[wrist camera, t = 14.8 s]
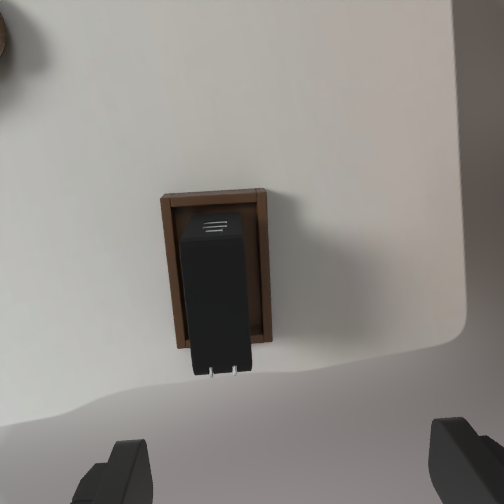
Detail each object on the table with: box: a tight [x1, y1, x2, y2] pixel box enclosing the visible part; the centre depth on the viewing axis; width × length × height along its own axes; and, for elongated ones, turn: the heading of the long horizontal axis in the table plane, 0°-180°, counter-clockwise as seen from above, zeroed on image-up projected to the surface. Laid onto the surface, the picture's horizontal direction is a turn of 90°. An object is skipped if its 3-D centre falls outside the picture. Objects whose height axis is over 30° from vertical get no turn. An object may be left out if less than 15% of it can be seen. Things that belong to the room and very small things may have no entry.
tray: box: [160, 188, 273, 349], centre depth 36 cm, size 9×14×2 cm, turn 3°
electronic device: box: [180, 212, 252, 378], centre depth 32 cm, size 4×10×10 cm, turn 3°
